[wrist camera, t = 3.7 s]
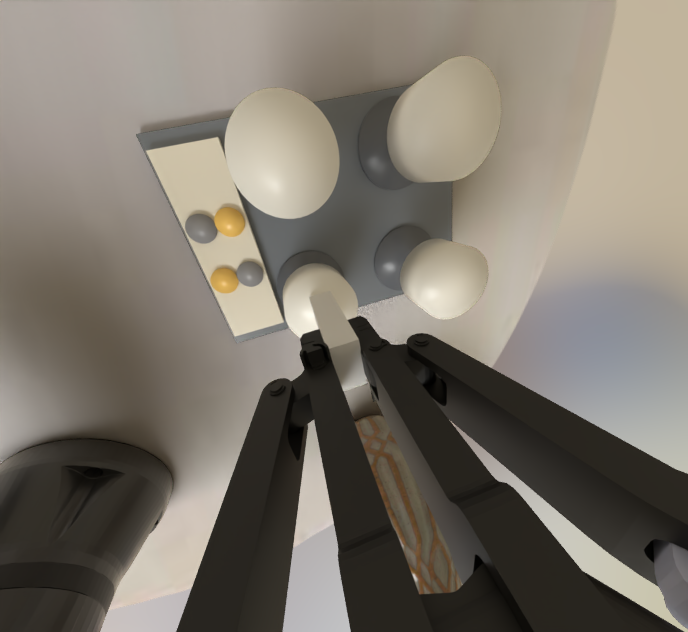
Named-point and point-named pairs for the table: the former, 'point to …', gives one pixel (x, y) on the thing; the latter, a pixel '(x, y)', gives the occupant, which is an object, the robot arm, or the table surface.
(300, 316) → the button
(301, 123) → the button
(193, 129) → the board
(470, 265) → the button
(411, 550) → the vase
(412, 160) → the button
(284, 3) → the table surface
